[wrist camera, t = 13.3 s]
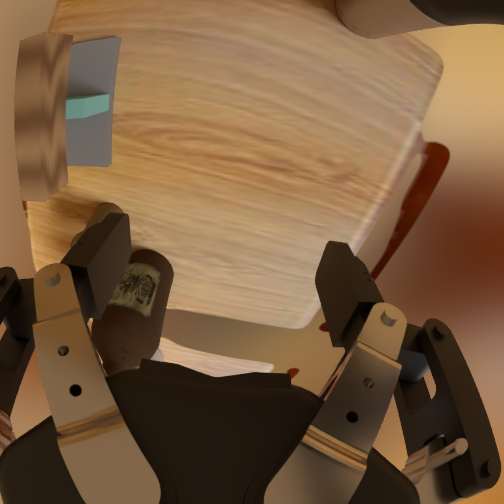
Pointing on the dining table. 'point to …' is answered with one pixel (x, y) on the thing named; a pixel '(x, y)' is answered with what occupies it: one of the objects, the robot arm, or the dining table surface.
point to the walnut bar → (42, 114)
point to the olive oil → (134, 313)
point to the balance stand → (91, 102)
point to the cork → (98, 217)
